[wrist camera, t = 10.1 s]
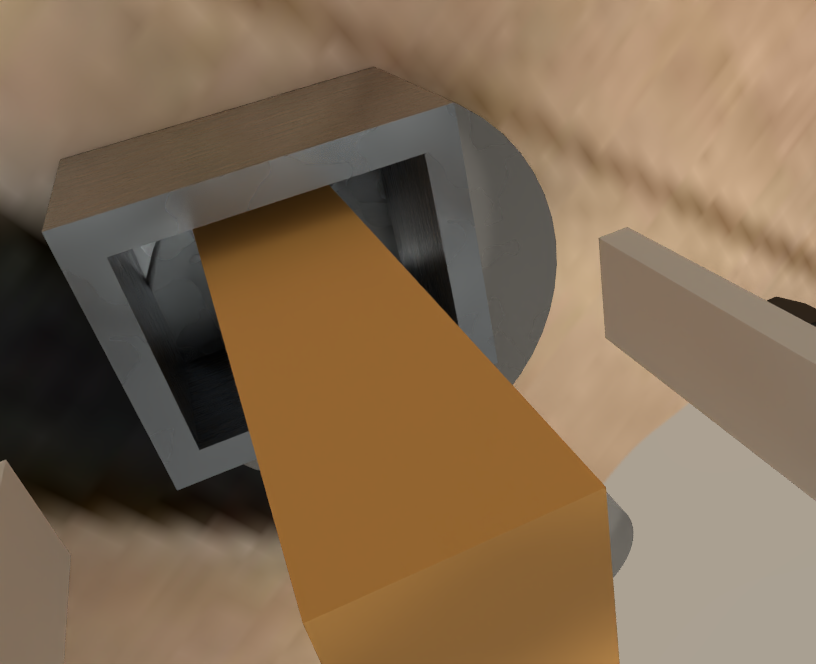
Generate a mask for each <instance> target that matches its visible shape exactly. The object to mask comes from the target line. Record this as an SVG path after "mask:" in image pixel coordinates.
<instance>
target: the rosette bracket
mask: <svg viewBox="0 0 816 664" xmlns="http://www.w3.org/2000/svg"><path fill="white" fill-rule="evenodd" d="M326 185H330V187H331V188H332V189H333V190H334V191H335V192H336V193H337V194H338V195H339V196H340V198H341V199H342V200H343V201H344V202H345V203H346V204H347V205H348V206H349V207H350V208H351V210H352V211H353V212H354V213H355V214H356V215H357V216H358V217H359V218H360V219H361V220H362V222H363V223H364V224H365V225H366V226H367V227H368V228H369V229H370V230H371V231H372V232H373V234H374V235H375V236H376V237H377V238H378V239H379V240H380V241H381V242H382V243H383V244H384V246H385V247H386V248H387V249H388V250H389V251H390V252H391V253H392V254H393V255H394V256H395V258H396V259H397V260H398V261H399V262H400V263H401V264H402V265H403V266H404V267H405V268H406V270H407V271H408V272H409V273H410V274H411V275H412V276H413V277H414V278H415V279H416V280H417V282H418V283H419V284H420V285H421V286H422V287H423V288H424V289H425V290H426V291H427V292H428V294H429V295H430V296H431V297H432V298H433V299H434V300H435V301H436V302H437V303H438V304H439V306H440V307H441V308H442V309H443V310H444V311H445V312H446V313H447V314H448V315H449V316H450V318H451V319H452V320H453V321H454V322H455V323H456V324H457V325H458V326H459V327H460V328H461V330H462V331H463V332H464V333H465V334H466V335H467V336H468V337H469V338H470V339H471V340H472V342H473V343H474V344H475V345H476V346H477V347H478V348H479V349H480V350H481V351H482V352H483V354H484V355H485V356H486V357H487V358H488V359H489V360H490V361H491V362H492V363H493V365H494V366H495V367H496V368H497V369H498V370H499V371H500V372H501V373H502V374H503V375H504V377H505V378H506V379H507V380H508V381H509V382H510V383H511V384H512V385H513V384H514V382H515V381H516V379H517V378H518V377H519V375H520V374H521V372H522V371H523V369H524V367H525V366H526V364H527V362H528V361H529V359H530V357H531V356H532V354H533V352H534V350H535V347H536V345H537V343H538V341H539V339H540V337H541V334H542V332H543V329H544V326H545V323H546V320H547V317H548V314H549V311H550V307H551V302H552V297H553V292H554V288H555V277H556V266H557V260H556V239H555V233H554V227H553V222H552V216H551V213H550V210H549V207H548V204H547V201H546V198H545V194H544V192H543V190H542V188H541V186H540V184H539V182H538V180H537V178H536V176H535V174H534V172H533V171H532V169H531V168H530V166H529V165H528V163H527V162H526V160H525V159H524V157H523V156H522V154H521V153H520V152H519V151H518V150H517V149H516V147H515V146H514V145H513V144H512V143H511V142H510V141H509V140H508V139H507V138H506V137H505V136H504V135H503V134H502V133H501V132H500V131H498V130H497V129H496V128H495V127H493V126H492V125H491V124H489V123H488V122H487V121H486V120H484V119H483V118H482V117H480V116H478V115H476V114H475V113H473V112H471V111H469V110H467V109H466V108H464V107H462V106H460V105H458V104H456V103H454V102H452V101H450V100H447V99H445V98H443V97H441V96H439V95H436V94H434V93H432V92H430V91H427V90H425V89H423V88H421V87H418V86H416V85H414V84H412V83H409V82H407V81H405V80H403V79H401V78H398V77H396V76H394V75H392V74H389V73H387V72H385V71H383V70H380V69H378V68H376V67H372V68H368V69H365V70H362V71H358V72H355V73H352V74H348V75H345V76H341V77H338V78H335V79H331V80H328V81H325V82H321V83H318V84H314V85H311V86H308V87H304V88H301V89H298V90H294V91H291V92H287V93H284V94H281V95H277V96H274V97H271V98H267V99H264V100H261V101H257V102H254V103H250V104H247V105H244V106H240V107H237V108H234V109H230V110H227V111H223V112H220V113H217V114H213V115H210V116H207V117H203V118H200V119H196V120H193V121H190V122H186V123H183V124H180V125H176V126H173V127H169V128H166V129H163V130H159V131H156V132H153V133H149V134H146V135H142V136H139V137H136V138H132V139H129V140H126V141H122V142H119V143H115V144H112V145H109V146H105V147H102V148H99V149H95V150H92V151H88V152H85V153H82V154H78V155H75V156H72V157H68V158H65V159H61V160H60V163H59V167H58V171H57V174H56V178H55V182H54V186H53V190H52V194H51V198H50V202H49V206H48V209H47V213H46V217H45V221H44V225H43V229H42V234H43V235H44V237H45V239H46V241H47V243H48V245H49V247H50V249H51V251H52V253H53V255H54V256H55V258H56V260H57V262H58V264H59V266H60V268H61V270H62V272H63V274H64V275H65V277H66V279H67V281H68V283H69V285H70V287H71V289H72V291H73V293H74V295H75V296H76V298H77V300H78V302H79V304H80V306H81V308H82V310H83V312H84V314H85V315H86V317H87V319H88V321H89V323H90V325H91V327H92V329H93V331H94V333H95V335H96V336H97V338H98V340H99V342H100V344H101V346H102V348H103V350H104V352H105V354H106V356H107V357H108V359H109V361H110V363H111V365H112V367H113V369H114V371H115V373H116V375H117V376H118V378H119V380H120V382H121V384H122V386H123V388H124V390H125V392H126V394H127V396H128V397H129V399H130V401H131V403H132V405H133V407H134V409H135V411H136V413H137V415H138V416H139V418H140V420H141V422H142V424H143V426H144V428H145V430H146V432H147V434H148V436H149V437H150V439H151V441H152V443H153V445H154V447H155V449H156V451H157V453H158V455H159V456H160V458H161V460H162V462H163V464H164V466H165V468H166V470H167V472H168V474H169V476H170V477H171V479H172V481H173V483H174V485H175V487H176V489H177V490H179V489H182V488H184V487H187V486H190V485H192V484H195V483H197V482H200V481H202V480H205V479H207V478H210V477H212V476H215V475H217V474H220V473H222V472H225V471H227V470H230V469H232V468H235V467H237V466H240V465H242V464H244V465H246V466H248V467H250V468H253V469H256V470H259V471H260V468H259V465H258V461H257V458H256V454H255V451H254V447H253V444H252V440H251V436H250V433H249V429H248V426H247V422H246V419H245V415H244V411H243V408H242V404H241V401H240V397H239V394H238V390H237V386H236V383H235V379H234V376H233V372H232V369H231V365H230V362H229V358H228V354H227V351H226V347H225V344H224V340H223V337H222V333H221V329H220V326H219V322H218V319H217V315H216V312H215V308H214V305H213V301H212V297H211V294H210V290H209V287H208V283H207V280H206V276H205V272H204V269H203V265H202V262H201V258H200V255H199V251H198V247H197V244H196V240H195V237H194V233H193V230H192V229H195V228H198V227H201V226H204V225H207V224H210V223H213V222H216V221H219V220H222V219H225V218H228V217H232V216H235V215H238V214H241V213H244V212H247V211H250V210H253V209H256V208H259V207H262V206H265V205H268V204H271V203H274V202H277V201H281V200H284V199H287V198H290V197H293V196H296V195H299V194H302V193H305V192H308V191H311V190H314V189H317V188H320V187H323V186H326ZM606 495H607V508H608V521H609V534H610V547H611V560H612V573H613V577H614V576H615V575H616V574H617V572H618V571H619V570H620V568H621V567H622V565H623V564H624V562H625V560H626V558H627V556H628V554H629V552H630V549H631V546H632V541H633V526H632V523H631V520H630V518H629V517H628V515H627V514H626V513H625V512H624V511H623V510H622V509H621V507H620V506H619V505H618V504H617V503H616V502H615V501H614V500H613V499H612V497H611V496H610V495H609V494H608V493H607V492H606Z"/></svg>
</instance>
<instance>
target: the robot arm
mask: <svg viewBox="0 0 816 664" xmlns="http://www.w3.org/2000/svg"><path fill="white" fill-rule="evenodd" d="M599 250H600V265H601V280H602V295H603V309H604V324H605V338H607V339H608V340H609V341H611V342H612V343H613V344H614V345H616V346H617V347H618V348H620V349H621V350H622V351H623V352H625V353H626V354H627V355H629V356H630V357H631V358H632V359H634V360H635V361H636V362H638V363H639V364H640V365H641V366H643V367H644V368H645V369H647V370H648V371H649V372H650V373H652V374H653V375H654V376H656V377H657V378H658V379H659V380H661V381H662V382H663V383H665V384H666V385H667V386H668V387H670V388H671V389H672V390H674V391H675V392H676V393H677V394H679V395H680V396H681V397H683V398H684V399H685V400H686V401H688V402H689V403H690V404H692V405H693V406H694V407H695V408H697V409H698V410H699V411H701V412H702V413H703V414H705V415H706V416H707V417H708V418H710V419H711V420H712V421H714V422H715V423H716V424H717V425H719V426H720V427H721V428H723V429H724V430H725V431H726V432H728V433H729V434H730V435H732V436H733V437H734V438H735V439H737V440H738V441H739V442H741V443H742V444H743V445H744V446H746V447H747V448H748V449H750V450H751V451H752V452H754V453H755V454H756V455H757V456H759V457H760V458H761V459H762V460H764V461H765V462H766V463H768V464H769V465H770V466H771V467H773V468H774V469H775V470H777V471H778V472H779V473H781V474H782V475H783V476H784V477H786V478H787V479H788V480H789V481H791V482H792V483H793V484H795V485H796V486H797V487H798V488H800V489H801V490H802V491H804V492H805V493H806V494H807V495H809V496H810V497H811V498H813V499H814V500H815V501H816V309H815V308H813V307H811V306H809V305H807V304H805V303H801V302H797V301H793V300H788V299H784V298H780V297H774V298H772V299H769V300H767V301H766V300H764V299H762V298H760V297H758V296H756V295H754V294H753V293H751V292H749V291H747V290H745V289H743V288H741V287H739V286H737V285H736V284H734V283H732V282H730V281H728V280H726V279H724V278H722V277H721V276H719V275H717V274H715V273H713V272H711V271H709V270H707V269H705V268H704V267H702V266H700V265H698V264H696V263H694V262H692V261H690V260H688V259H687V258H685V257H683V256H681V255H679V254H677V253H675V252H673V251H671V250H670V249H668V248H666V247H664V246H662V245H660V244H658V243H656V242H655V241H653V240H651V239H649V238H647V237H645V236H643V235H641V234H639V233H638V232H636V231H634V230H632V229H630V228H628V227H626V228H624V229H621V230H618V231H616V232H613V233H610V234H608V235H605V236H602V237H600V238H599ZM70 562H71V554H70V553H69V552H68V550H67V549H66V547H65V546H64V544H63V543H62V541H61V540H60V538H59V537H58V535H57V534H56V532H55V531H54V530H53V528H52V527H51V525H50V524H49V522H48V521H47V519H46V518H45V516H44V515H43V513H42V512H41V510H40V509H39V507H38V506H37V505H36V503H35V502H34V500H33V499H32V497H31V496H30V494H29V493H28V491H27V490H26V488H25V487H24V485H23V484H22V483H21V481H20V480H19V478H18V477H17V475H16V474H15V472H14V471H13V469H12V468H11V466H10V465H9V463H8V462H7V461H6V460H4V461H1V462H0V664H64V655H65V640H66V624H67V609H68V593H69V578H70Z"/></svg>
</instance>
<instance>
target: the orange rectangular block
mask: <svg viewBox="0 0 816 664" xmlns="http://www.w3.org/2000/svg"><path fill="white" fill-rule="evenodd" d="M192 230H193V233H194V237H195V240H196V244H197V247H198V251H199V255H200V258H201V262H202V265H203V269H204V272H205V276H206V280H207V283H208V287H209V290H210V294H211V297H212V301H213V305H214V308H215V312H216V315H217V319H218V322H219V326H220V329H221V333H222V337H223V340H224V344H225V347H226V351H227V354H228V358H229V362H230V365H231V369H232V372H233V376H234V379H235V383H236V386H237V390H238V394H239V397H240V401H241V404H242V408H243V411H244V415H245V419H246V422H247V426H248V429H249V433H250V436H251V440H252V444H253V447H254V451H255V454H256V458H257V461H258V465H259V468H260V472H261V476H262V479H263V483H264V486H265V490H266V493H267V497H268V501H269V504H270V508H271V511H272V515H273V518H274V522H275V526H276V529H277V533H278V536H279V540H280V543H281V547H282V550H283V554H284V558H285V561H286V565H287V568H288V572H289V575H290V579H291V583H292V586H293V590H294V593H295V597H296V600H297V604H298V608H299V611H300V615H301V618H302V622H303V625H304V627H305V629H306V631H307V633H308V636H309V638H310V640H311V642H312V644H313V647H314V649H315V651H316V653H317V655H318V657H319V660H320V662H321V664H619V651H618V638H617V625H616V613H615V599H614V586H613V573H612V560H611V547H610V534H609V521H608V508H607V495H606V487H605V486H604V485H603V483H602V482H601V481H600V480H599V479H598V478H597V477H596V476H595V475H594V474H593V473H592V471H591V470H590V469H589V468H588V467H587V466H586V465H585V464H584V463H583V462H582V461H581V459H580V458H579V457H578V456H577V455H576V454H575V453H574V452H573V451H572V450H571V449H570V447H569V446H568V445H567V444H566V443H565V442H564V441H563V440H562V439H561V438H560V437H559V435H558V434H557V433H556V432H555V431H554V430H553V429H552V428H551V427H550V426H549V425H548V423H547V422H546V421H545V420H544V419H543V418H542V417H541V416H540V415H539V414H538V413H537V411H536V410H535V409H534V408H533V407H532V406H531V405H530V404H529V403H528V402H527V401H526V399H525V398H524V397H523V396H522V395H521V394H520V393H519V392H518V391H517V390H516V389H515V387H514V386H513V385H512V384H511V383H510V382H509V381H508V380H507V379H506V378H505V377H504V375H503V374H502V373H501V372H500V371H499V370H498V369H497V368H496V367H495V366H494V365H493V363H492V362H491V361H490V360H489V359H488V358H487V357H486V356H485V355H484V354H483V352H482V351H481V350H480V349H479V348H478V347H477V346H476V345H475V344H474V343H473V342H472V340H471V339H470V338H469V337H468V336H467V335H466V334H465V333H464V332H463V331H462V330H461V328H460V327H459V326H458V325H457V324H456V323H455V322H454V321H453V320H452V319H451V318H450V316H449V315H448V314H447V313H446V312H445V311H444V310H443V309H442V308H441V307H440V306H439V304H438V303H437V302H436V301H435V300H434V299H433V298H432V297H431V296H430V295H429V294H428V292H427V291H426V290H425V289H424V288H423V287H422V286H421V285H420V284H419V283H418V282H417V280H416V279H415V278H414V277H413V276H412V275H411V274H410V273H409V272H408V271H407V270H406V268H405V267H404V266H403V265H402V264H401V263H400V262H399V261H398V260H397V259H396V258H395V256H394V255H393V254H392V253H391V252H390V251H389V250H388V249H387V248H386V247H385V246H384V244H383V243H382V242H381V241H380V240H379V239H378V238H377V237H376V236H375V235H374V234H373V232H372V231H371V230H370V229H369V228H368V227H367V226H366V225H365V224H364V223H363V222H362V220H361V219H360V218H359V217H358V216H357V215H356V214H355V213H354V212H353V211H352V210H351V208H350V207H349V206H348V205H347V204H346V203H345V202H344V201H343V200H342V199H341V198H340V196H339V195H338V194H337V193H336V192H335V191H334V190H333V189H332V188H331V187H330V185H326V186H323V187H320V188H317V189H314V190H311V191H308V192H305V193H302V194H299V195H296V196H293V197H290V198H287V199H284V200H281V201H277V202H274V203H271V204H268V205H265V206H262V207H259V208H256V209H253V210H250V211H247V212H244V213H241V214H238V215H235V216H232V217H228V218H225V219H222V220H219V221H216V222H213V223H210V224H207V225H204V226H201V227H198V228H195V229H192Z"/></svg>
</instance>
